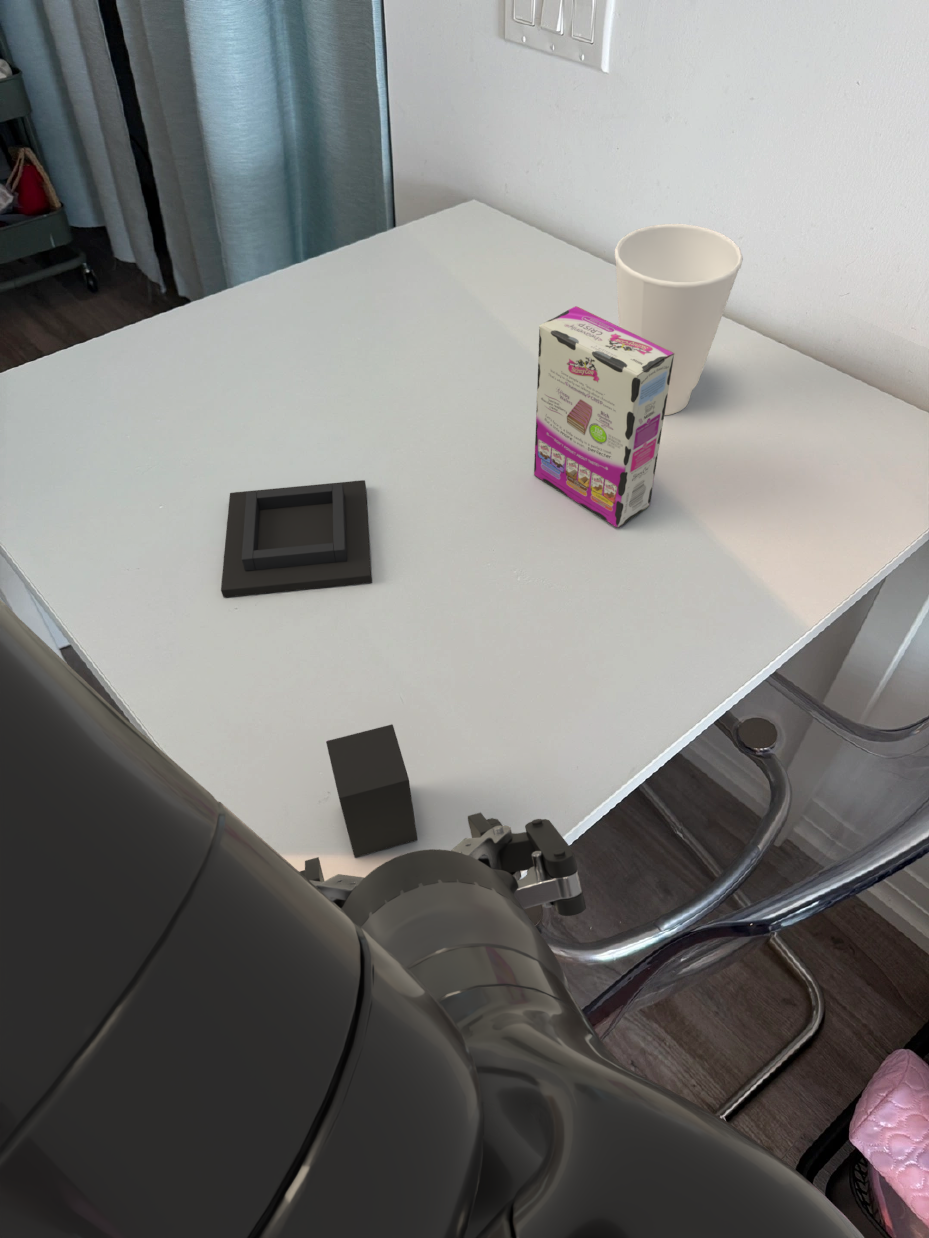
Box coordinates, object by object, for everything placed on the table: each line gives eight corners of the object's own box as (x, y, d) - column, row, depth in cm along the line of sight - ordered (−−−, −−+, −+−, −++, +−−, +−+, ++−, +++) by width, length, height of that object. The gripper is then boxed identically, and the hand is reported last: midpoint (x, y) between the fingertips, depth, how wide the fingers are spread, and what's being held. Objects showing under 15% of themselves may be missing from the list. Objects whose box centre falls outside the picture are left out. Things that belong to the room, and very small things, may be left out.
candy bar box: (653, 505, 85) (678, 352, 73) (617, 531, 83) (638, 377, 71) (566, 452, 91) (576, 301, 79) (531, 475, 89) (536, 323, 77)
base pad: (223, 598, 79) (216, 578, 77) (231, 500, 88) (226, 480, 86) (371, 583, 80) (368, 563, 78) (366, 487, 88) (363, 467, 86)
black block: (354, 858, 62) (339, 798, 56) (341, 802, 65) (325, 740, 59) (417, 840, 63) (409, 779, 57) (402, 786, 66) (392, 723, 60)
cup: (733, 390, 97) (766, 246, 85) (674, 444, 91) (701, 297, 79) (640, 353, 102) (658, 212, 90) (578, 401, 97) (589, 258, 85)
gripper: (619, 832, 32) (513, 749, 48) (209, 950, 29) (242, 821, 45) (663, 1033, 32) (543, 884, 48) (264, 1165, 30) (277, 963, 46)
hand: (397, 854), depth 47 cm, fingers open, 8 cm apart
